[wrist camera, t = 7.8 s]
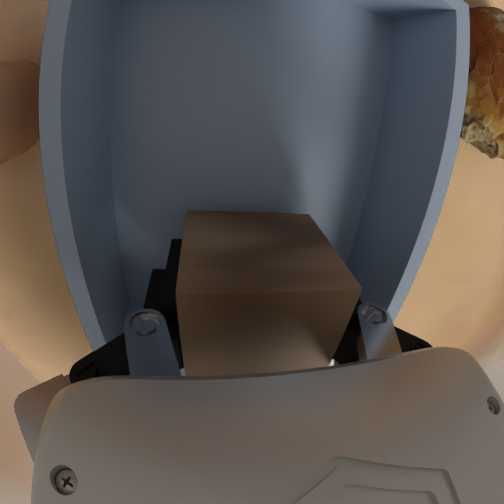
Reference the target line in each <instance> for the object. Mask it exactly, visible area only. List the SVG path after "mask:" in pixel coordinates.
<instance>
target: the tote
mask: <svg viewBox="0 0 504 504" xmlns="http://www.w3.org/2000/svg"><path fill="white" fill-rule="evenodd" d="M469 56H470V19H469V5H468V4H467V3H466V2H465V1H463V0H50V5H49V9H48V14H47V19H46V25H45V31H44V38H43V45H42V54H41V64H40V78H39V134H40V149H41V160H42V169H43V177H44V185H45V191H46V198H47V203H48V209H49V214H50V219H51V224H52V228H53V233H54V237H55V241H56V245H57V249H58V253H59V257H60V261H61V264H62V268H63V271H64V274H65V278H66V281H67V284H68V287H69V290H70V293H71V296H72V299H73V302H74V305H75V307H76V310H77V313H78V315H79V318H80V321H81V323H82V326H83V328H84V331H85V333H86V335H87V338H88V340H89V342H90V345H91V347H92V349H93V351H95V350H97V349H98V348H100V347H102V346H103V345H105V344H106V343H108V342H110V341H111V340H113V339H115V338H116V337H118V336H119V335H121V334H123V333H124V321H125V319H126V318H127V316H129V315H130V314H131V313H132V312H134V311H136V310H140V309H143V307H144V303H145V298H146V294H147V289H148V285H149V281H150V277H151V273H152V270H153V269H166V265H167V259H168V254H169V249H170V245H171V240H172V239H183V232H184V226H185V219H186V213H187V210H191V211H244V212H273V213H296V214H309V215H310V216H311V217H312V219H313V220H314V221H315V223H316V224H317V225H318V227H319V228H320V229H321V231H322V232H323V233H324V235H325V236H326V238H327V239H328V240H329V242H330V243H331V244H332V246H333V247H334V249H335V250H336V251H337V253H338V254H339V256H340V257H341V258H342V260H343V261H344V263H345V264H346V266H347V267H348V268H349V270H350V271H351V273H352V274H353V276H354V277H355V279H356V280H357V282H358V283H359V285H360V286H361V288H362V291H361V293H360V296H359V298H360V300H361V302H362V303H366V302H371V303H376V304H378V305H380V306H382V307H384V308H385V309H386V310H387V311H388V312H389V314H390V316H391V319H392V322H394V320H395V318H396V316H397V314H398V312H399V310H400V308H401V306H402V304H403V302H404V300H405V298H406V296H407V294H408V292H409V290H410V288H411V285H412V283H413V281H414V279H415V276H416V274H417V272H418V270H419V267H420V265H421V262H422V260H423V258H424V255H425V253H426V250H427V247H428V245H429V242H430V240H431V237H432V234H433V231H434V229H435V226H436V223H437V220H438V217H439V214H440V211H441V208H442V205H443V202H444V198H445V195H446V192H447V188H448V185H449V181H450V177H451V173H452V170H453V166H454V161H455V157H456V153H457V148H458V143H459V139H460V133H461V128H462V122H463V116H464V109H465V102H466V94H467V85H468V73H469ZM332 365H334V360H333V359H332V360H331V362H330V364H329V366H332ZM180 372H181V375H182V376H185V370H184V368H182V369H181V370H180Z"/></svg>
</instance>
